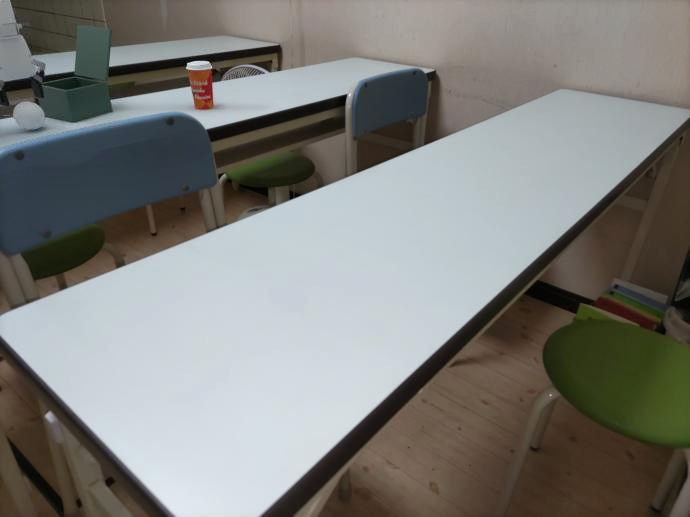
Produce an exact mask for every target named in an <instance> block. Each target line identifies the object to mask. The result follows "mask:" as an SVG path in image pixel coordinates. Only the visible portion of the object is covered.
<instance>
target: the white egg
mask: <svg viewBox="0 0 690 517" xmlns="http://www.w3.org/2000/svg"><path fill="white" fill-rule="evenodd" d="M2 116H3V117H6V116H9V114H8V115H7V114H4V115H2ZM12 116H13V119H14V121H15V123H16V124H17V125H18V126H19V127H21V128H22V129H24V130H25V129H26V130H29V131H34V130H37V129H40V128H42V127H43V125H44V124H45V121H46V116H45V114H44V111H43V109H42V108H41V107H40V104H39V105H38V104H37V103H36V102H33V101H29V100H28V101H22V102H20V103H17V104H16V105H15V106H14V109H13V112H12Z"/></svg>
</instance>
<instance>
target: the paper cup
mask: <svg viewBox="0 0 690 517" xmlns="http://www.w3.org/2000/svg"><path fill="white" fill-rule="evenodd" d="M185 69H186V70H187V74H188V79H189V84H190V88H191V94H192V99H193V104H194V109H196V110H200V111H201V110H202V111H206V110H211V109H214V108H215V107H214V106H215V105H214V104H215V103H214V88H213V86H214V85H213V72H212V71H213V70H212V69H213V66H212V64H211V63H210V61H207V60H195V61H190V62H187V63H186V67H185Z"/></svg>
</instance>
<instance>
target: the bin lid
mask: <svg viewBox="0 0 690 517" xmlns="http://www.w3.org/2000/svg"><path fill="white" fill-rule="evenodd" d="M112 36H113V29H111V28H105V27H98V26H91V25H83V24H77V31H76V46H75V47H76V48H75V57H74V58H75V60H74V75H75V76H77V77H82V78H88V79H93V80H98V81H103V82H108V81H109V72H110V71H109V70H110V61H111V60H110V59H111V50H112V49H111V47H112V38H113V37H112Z"/></svg>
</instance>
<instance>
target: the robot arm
mask: <svg viewBox="0 0 690 517" xmlns="http://www.w3.org/2000/svg"><path fill="white" fill-rule="evenodd" d="M15 16H16V15H15V13H14V9H13V6H12V3H11V0H0V106H3V107H10V105H11V104H10V101H9V99H8V95H7V92H6V90H5V89H4V86H5V83H6V82H11V81H16V80H21V79H26V78H29V79H30V80H31V81H30V85H31V88H32V92H33V95H34V97H35V98H37V99H38V98H44V91H43V88H42V84H41V83H43V78H44V77H45V75H46V65H47V64H46V63H45V62H43V61H40V60H37V59H35V58H34V57H33V56H32V52H31V50H30V48H29V46H28V43H27V41H26V39H25V38H24V36H23V35H21V30H23V25H22V24H21V23H18V22H17V19H16V17H15ZM36 67H37V69H36Z"/></svg>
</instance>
